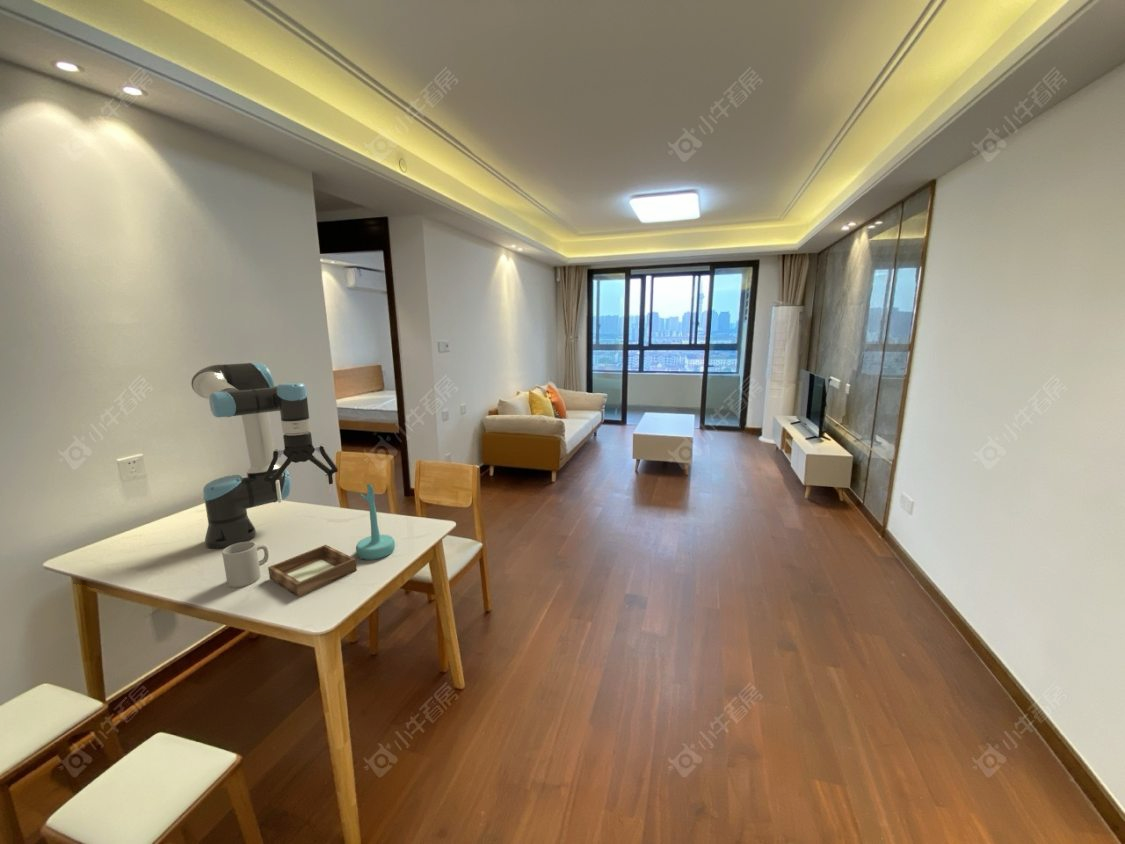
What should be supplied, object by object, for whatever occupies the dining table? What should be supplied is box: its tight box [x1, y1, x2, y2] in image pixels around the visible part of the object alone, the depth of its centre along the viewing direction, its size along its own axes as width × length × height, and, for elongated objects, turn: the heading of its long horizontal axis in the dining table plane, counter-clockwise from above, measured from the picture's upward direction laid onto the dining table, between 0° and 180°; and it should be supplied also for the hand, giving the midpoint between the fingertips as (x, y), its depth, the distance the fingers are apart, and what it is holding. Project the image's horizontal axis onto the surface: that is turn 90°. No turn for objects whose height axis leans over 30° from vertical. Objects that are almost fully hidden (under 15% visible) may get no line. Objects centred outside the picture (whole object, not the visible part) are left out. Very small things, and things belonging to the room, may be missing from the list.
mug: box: [221, 541, 270, 589], centre depth 139 cm, size 12×8×11 cm
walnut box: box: [267, 544, 358, 598], centre depth 141 cm, size 18×18×4 cm
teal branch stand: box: [355, 483, 396, 561], centre depth 154 cm, size 12×12×25 cm
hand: (304, 497), depth 143 cm, fingers open, 13 cm apart
